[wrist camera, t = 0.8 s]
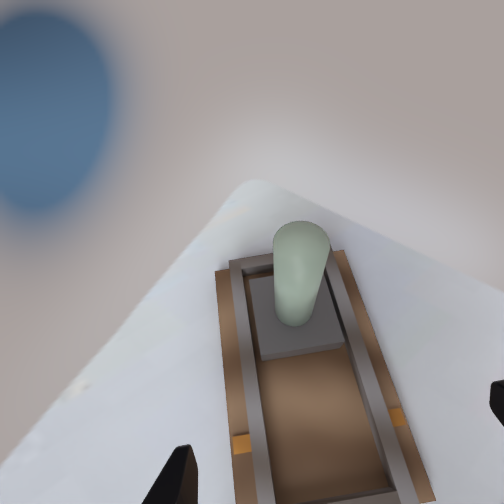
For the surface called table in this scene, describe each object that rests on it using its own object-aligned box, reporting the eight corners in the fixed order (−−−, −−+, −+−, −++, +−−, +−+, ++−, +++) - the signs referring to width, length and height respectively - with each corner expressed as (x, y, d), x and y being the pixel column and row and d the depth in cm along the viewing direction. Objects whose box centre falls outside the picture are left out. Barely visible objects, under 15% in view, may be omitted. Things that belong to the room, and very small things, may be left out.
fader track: (427, 497, 19) (448, 505, 16) (240, 529, 19) (235, 543, 16) (341, 256, 28) (346, 240, 26) (217, 277, 28) (211, 263, 26)
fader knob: (339, 348, 22) (383, 288, 13) (262, 361, 22) (250, 310, 13) (319, 278, 26) (342, 189, 16) (250, 289, 26) (234, 207, 16)
